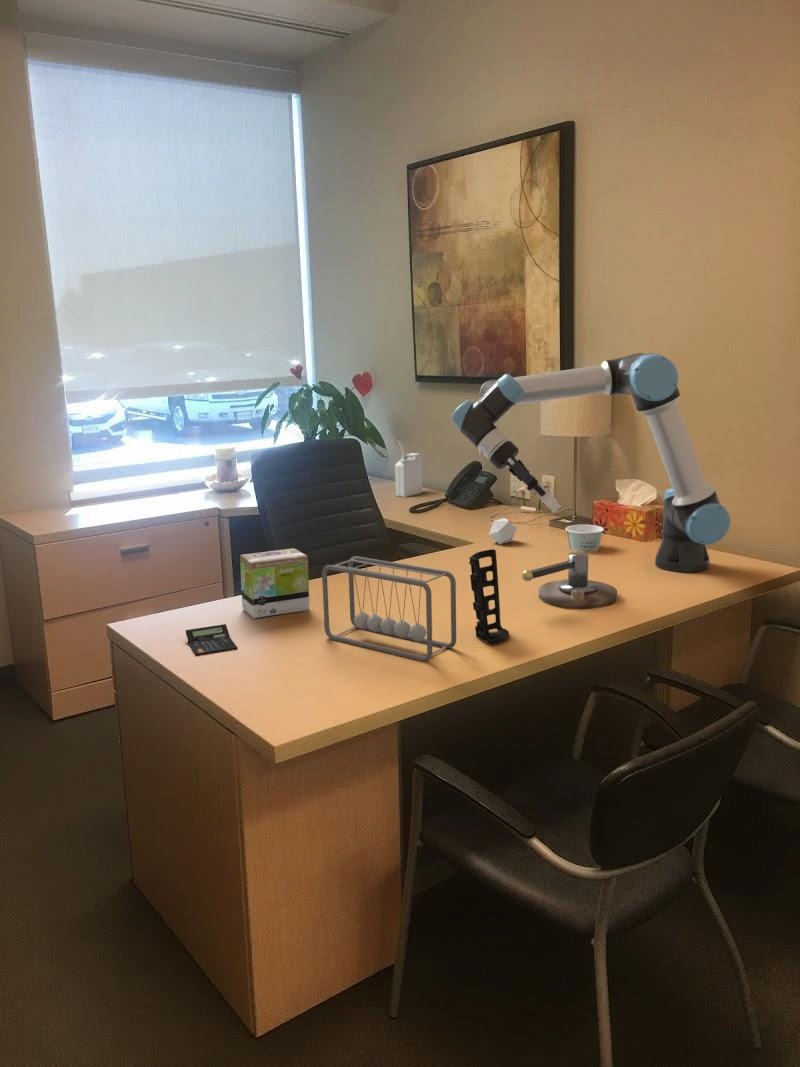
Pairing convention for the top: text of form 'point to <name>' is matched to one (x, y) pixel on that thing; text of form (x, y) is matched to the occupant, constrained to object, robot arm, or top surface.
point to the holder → (486, 598)
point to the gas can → (408, 474)
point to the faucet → (575, 574)
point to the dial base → (578, 596)
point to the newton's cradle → (389, 624)
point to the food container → (584, 537)
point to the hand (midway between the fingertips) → (555, 507)
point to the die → (502, 531)
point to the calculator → (210, 640)
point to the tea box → (274, 582)
